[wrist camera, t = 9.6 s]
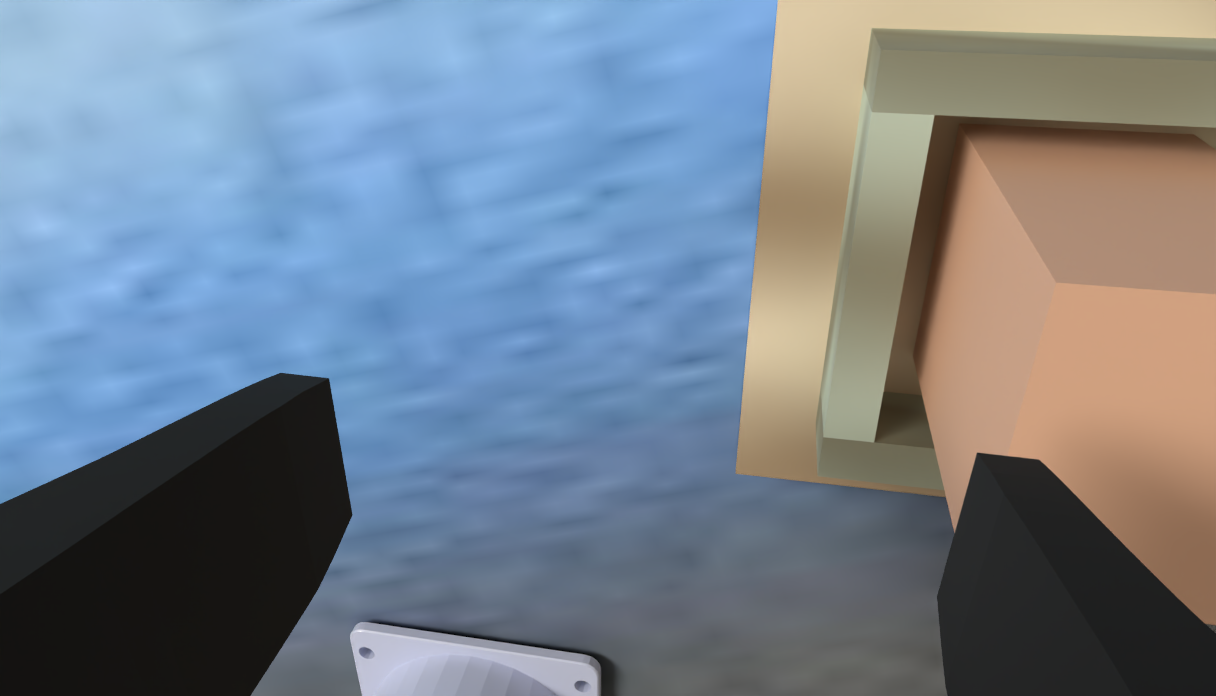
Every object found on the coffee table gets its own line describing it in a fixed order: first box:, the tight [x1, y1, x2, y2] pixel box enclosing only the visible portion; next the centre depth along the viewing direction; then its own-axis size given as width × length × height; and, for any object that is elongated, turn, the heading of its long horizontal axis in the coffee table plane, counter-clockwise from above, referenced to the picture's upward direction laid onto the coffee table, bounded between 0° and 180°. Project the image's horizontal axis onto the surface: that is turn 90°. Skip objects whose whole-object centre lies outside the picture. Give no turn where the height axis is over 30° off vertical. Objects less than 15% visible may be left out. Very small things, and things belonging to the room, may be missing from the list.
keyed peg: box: [913, 123, 1216, 625], centre depth 14 cm, size 5×4×7 cm
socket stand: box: [736, 0, 1216, 497], centre depth 17 cm, size 12×11×3 cm
